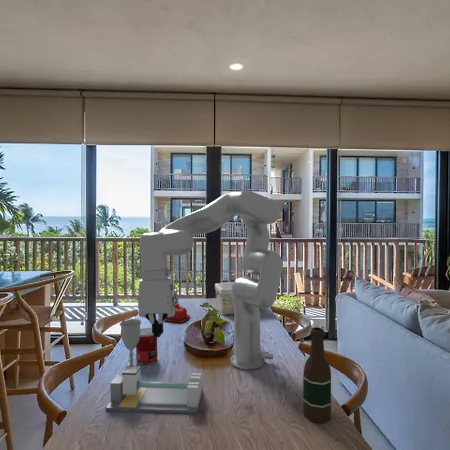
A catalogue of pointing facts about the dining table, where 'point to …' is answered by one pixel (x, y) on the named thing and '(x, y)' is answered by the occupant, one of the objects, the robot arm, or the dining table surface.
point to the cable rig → (158, 396)
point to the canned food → (146, 347)
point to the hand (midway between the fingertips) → (157, 335)
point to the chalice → (130, 335)
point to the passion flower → (176, 297)
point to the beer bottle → (317, 381)
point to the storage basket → (224, 298)
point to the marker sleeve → (131, 380)
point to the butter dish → (178, 314)
